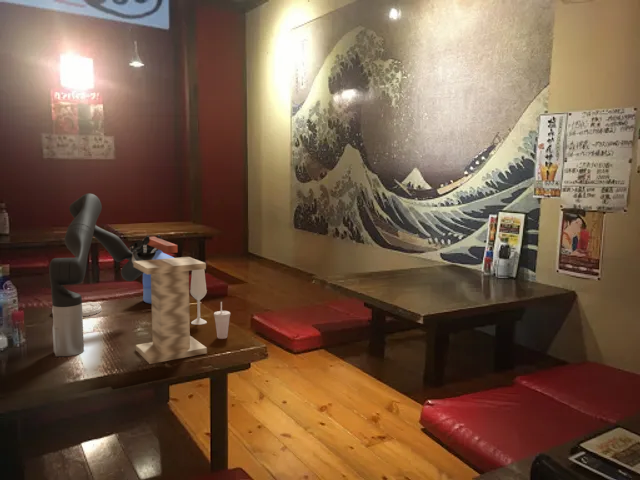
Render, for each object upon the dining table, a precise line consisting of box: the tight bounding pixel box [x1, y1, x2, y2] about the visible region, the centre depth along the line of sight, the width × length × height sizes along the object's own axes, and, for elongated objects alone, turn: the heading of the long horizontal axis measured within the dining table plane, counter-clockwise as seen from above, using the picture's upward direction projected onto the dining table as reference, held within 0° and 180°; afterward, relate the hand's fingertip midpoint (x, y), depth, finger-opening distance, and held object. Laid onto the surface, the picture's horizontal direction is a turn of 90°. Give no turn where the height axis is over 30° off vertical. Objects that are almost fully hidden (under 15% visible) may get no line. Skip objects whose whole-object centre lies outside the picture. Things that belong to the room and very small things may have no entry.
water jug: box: [142, 250, 175, 305], centre depth 259 cm, size 16×16×28 cm
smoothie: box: [213, 301, 231, 340], centre depth 203 cm, size 6×6×14 cm
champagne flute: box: [189, 269, 208, 325], centre depth 222 cm, size 7×7×24 cm
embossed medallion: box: [52, 301, 102, 317], centre depth 237 cm, size 20×20×3 cm
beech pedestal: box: [133, 256, 208, 365], centre depth 185 cm, size 20×16×32 cm
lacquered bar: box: [147, 236, 178, 254], centre depth 190 cm, size 4×26×2 cm, turn 34°
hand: (154, 237), depth 196 cm, fingers closed on lacquered bar, 3 cm apart
